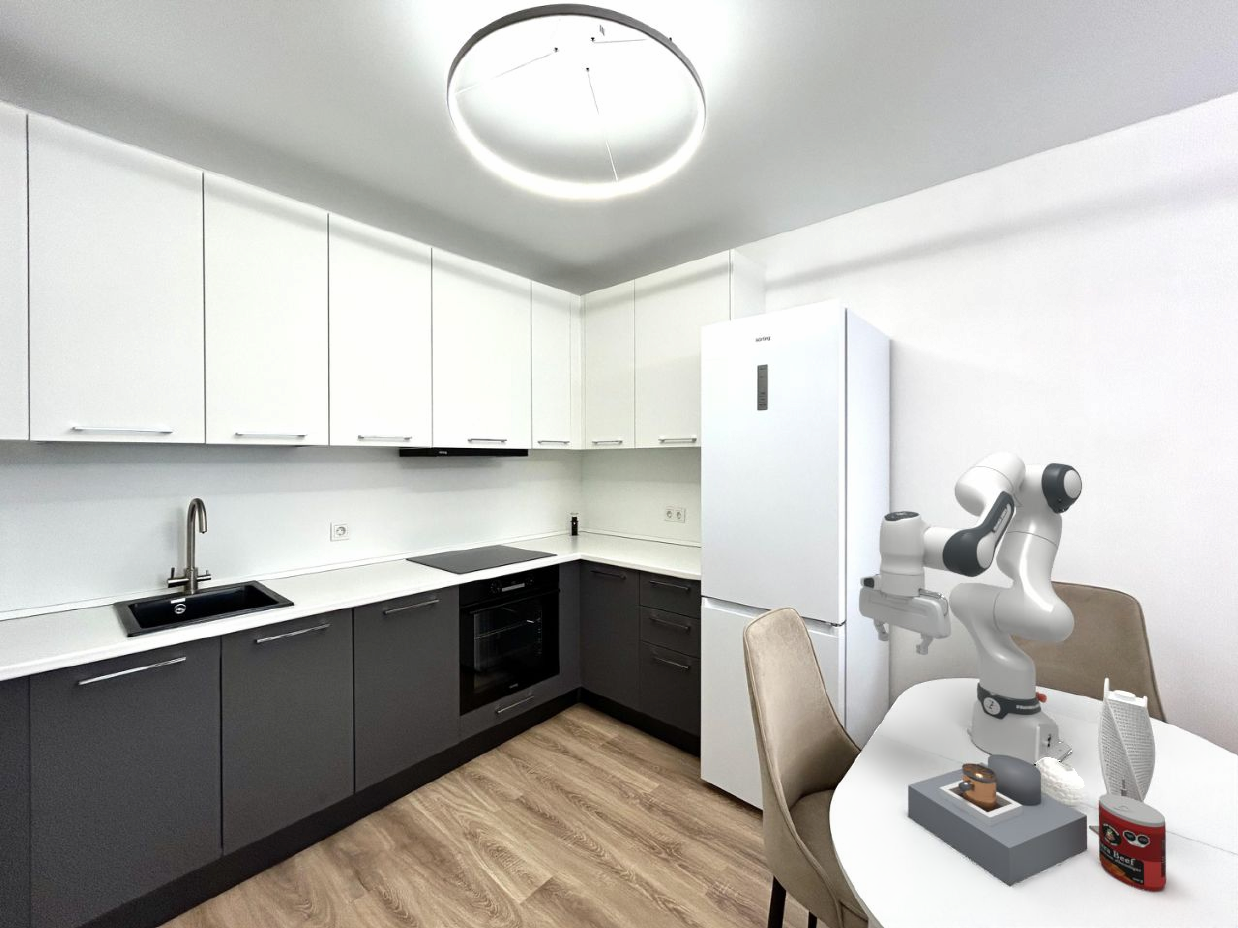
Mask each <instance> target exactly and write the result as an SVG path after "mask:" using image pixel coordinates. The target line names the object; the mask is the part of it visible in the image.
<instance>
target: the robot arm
mask: <svg viewBox="0 0 1238 928" xmlns="http://www.w3.org/2000/svg"><path fill="white" fill-rule="evenodd" d="M953 491H954V496H955V497H954V498H955V499H956V502H957V503H958V504H959V506H961V507H962V509H964V510H965V511H966V512H967V513H969V514H970V515H973V516H975V517H978V519H977V520H976V522H975V524H974V525H973V526H970V527H965V528H957V527H956V528H955V527H946V526H945V527H944V526H937V525H932V524H929V523H927V522H925V521H924V520H923V519H922V516H921V515H920V513H918V512H914V511H908V510H907V511H905V510H902V511H893V512H889V513H887V514H886V515H885V514H884V516H883V518H882V520H881V523H880V530H879V543H878V544H879V547H878V549H879V553H880V556H881V561H880V562H881V563H880V565H879V573H878V574H877V573H876V574H874V575H867V576H862V577H861V578H860V581H859V583H860V585H861V588H860V590H859V594H858V595H859V596H858V609H859V610H858V611H859V612H860V614H861V616H862V617H866V618H869V619H871V620H873V625H874V627H875V630H876V632H877V636H878V637H877V639H878V640H879V641H883V642H889V640H890V634H889V632H886V628H885V626H884V625H885V624H888V625H891V626H894V627H897V628H900V629H904V630H908V631H911V632H914V633H916V634H920V639H922V641H921V643H920V644H916V645H915V647H916V650H915V651H916V654H919V655H922V656H926V655H928V654H929V646H930V645H931V643H932V642H933V641H934V639H938V640H941V639H947V638H948V637H949V636H950V635H952V626H951V625H952V623H951V616H950V611H951V613H952V615H953V616H954V617H955V618H956V619H957V620H958V621H959V622H960V623H961V624H962V625H963V626H964V628H965V629H966V630H967V631H968V634H969V635H970V636H971V638H972V641H973V642H974V643H973V644H974V645H975V647H976V648H975V650H976V651H977V659H978V672H979V674H978V675H979V676H978V677H979V682H977V684H976V686H977V688H976V698H977V700H975V701H974V702H973V704H972V712H971V713H972V714H971V723H970V724H971V725H969V726H966V731H967V734H969V735H970V737H971V742H972V743H973V744H974V745H975V746H976V747H978V748H979V749H980V750H982V751H984V752H986V753H988V754H989V755H995V754H1000V755H1008V756H1012V757H1016V758H1019V759H1022V760H1024V761H1026V762H1028V763H1030V764H1032V765H1034V764H1035V763H1036V762H1037V761H1039V760H1040V759H1042V758H1044V757H1051V758H1055V759H1057V760H1062V761H1063V760H1064V759H1065V758H1066V757H1067V756H1068V753H1069V752H1070V751H1071V750H1072V751H1073V748H1072V746H1070V744H1068V743H1066V742H1065V741H1063V740H1061V739H1060V731H1059V725H1058V724H1057V723H1056V722H1055V721H1054V720H1053V719H1052V718H1051V717H1049V716H1048V715H1047V714H1046V713H1045V712H1044V711H1043V710H1042V707H1041V703H1043V704H1045V703H1046V702H1047V699H1048V697H1047V695H1046V694H1044V693H1041V692H1038V691H1037V690H1036V689H1037V688H1036V684H1037V683H1036V682H1037V678H1036V677H1037V676H1036V675H1037V672H1036V671H1037V669H1036V668H1037V667H1036V665H1035V662H1034V660H1033V659H1032V657H1030V655H1028V654H1027V653H1026V652H1024V650H1022V649H1021V648H1019V646H1018V645H1017V644H1016V643H1015V642H1014V640H1013V639H1012V636H1015V637H1019V638H1023V639H1026V640H1029V641H1030V640H1031V641H1035V642H1045V643H1062V642H1064V641H1065V640H1066V639H1069V637H1070V636H1071V634H1072V633H1073V631H1074V627H1075V618H1074V615H1073V613H1072V610H1071V609H1070V608H1069V606H1068V605H1067V604H1066V603H1065V602H1064V601H1063V600H1062V599H1061V598H1060V597H1059V596H1058V594H1057V593H1056V592H1055V589H1054V588H1053V585H1052V572H1053V567H1054V564H1055V560H1056V556H1057V553H1058V551H1059V548H1060V543H1061V540H1062V539H1061V538H1062V533H1063V531H1062V530H1063V518H1062V515H1061V514H1063V513H1065V512H1067V511H1068V510H1069V509H1070V508H1071V506H1073V505H1074V504H1075V502H1076V501H1077V500H1078V499H1079V497H1080V496H1081V493H1082V491H1083V481H1082V477H1081V475H1080V473H1079V472H1078V471H1077V470H1076V468H1075V467H1073V466H1072V465H1070V464H1065V463H1058V462H1057V463H1056V462H1051V463H1024V461H1023V460H1022V459H1021V458H1020V457H1019V456H1018V455H1016V454H1014V453H1012V452H1010V451H994V452H992V453H989V454H988V455H986V456H985V457H982V458H981V459H979V460H978V461H976V462H975V463H974V464H973V465H972V466H971V467H969V468H968V469H967V470H966V471H965V472H964V473H963V474H962V475H961V476H960V477H959V478H958V480H957V481H956V483H955V485H954V489H953ZM999 543H1001V544H1000V546H999V549H998V551H997V555H996V557H995V554H996V549H997V548H998V545H999ZM994 558H995V563H996V566H997V567H998V569H999V571H1000V572H1001V573H1002V574H1004V575H1005V576H1007V577H1008V578H1009V579H1011V580H1012V585H1011V586H1010V587H1002V586H997V585H993V584H986V583H981V582H964V583H962V582H961V583H958V584H957V585H955V586H954V587H953V588H952V590H951V591H950V594H949V597H948V599H946V597H945V596H944V595H942V593H941V592H937V591H931V590H928V589H926V585H925V584H926V583H925V581H926V580H925V578H926V576H925V568H930V569H932V570H933V569H934V570H938V571H943V572H944V571H945V572H950V573H953V574H957V575H961V576H965V577H967V578H975V577H978V576H981V574H984V573H985V572H986V571H987V570H989V568H990V567H991V566H992V563H993V561H994ZM924 567H925V568H924ZM1059 742H1061V743H1059ZM1066 755H1067V756H1066ZM1065 756H1066V757H1065ZM1064 757H1065V758H1064ZM1063 758H1064V759H1063ZM1034 766H1035V765H1034Z"/></svg>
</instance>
